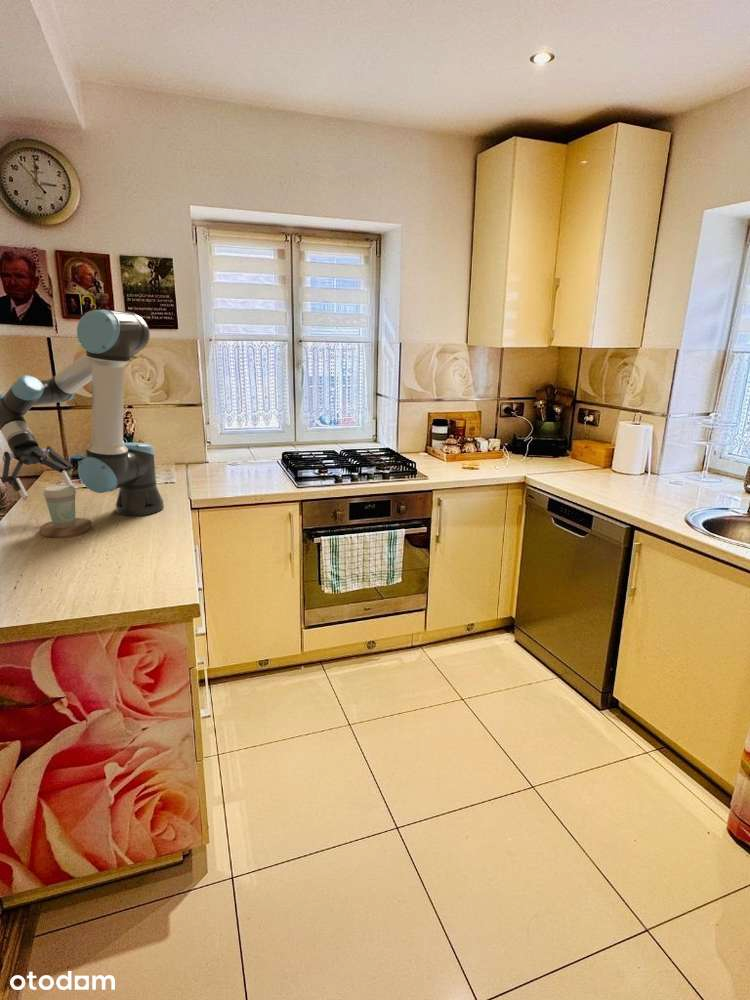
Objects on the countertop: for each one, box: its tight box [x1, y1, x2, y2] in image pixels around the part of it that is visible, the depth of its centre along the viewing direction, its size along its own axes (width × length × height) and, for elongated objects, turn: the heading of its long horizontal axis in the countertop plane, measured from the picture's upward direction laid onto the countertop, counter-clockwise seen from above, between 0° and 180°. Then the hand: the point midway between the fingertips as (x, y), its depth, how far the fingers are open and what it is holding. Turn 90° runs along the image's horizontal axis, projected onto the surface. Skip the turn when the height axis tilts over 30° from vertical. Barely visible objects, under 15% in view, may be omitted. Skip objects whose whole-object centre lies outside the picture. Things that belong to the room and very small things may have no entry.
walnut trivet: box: [39, 517, 93, 539], centre depth 169 cm, size 14×14×2 cm
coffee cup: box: [43, 483, 77, 529], centre depth 167 cm, size 9×8×12 cm
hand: (49, 493), depth 171 cm, fingers open, 13 cm apart
